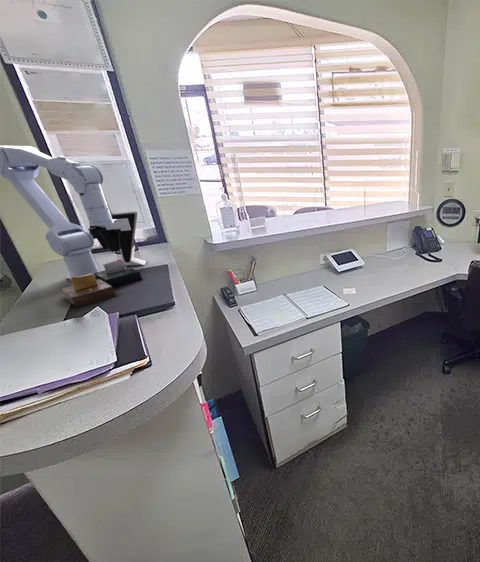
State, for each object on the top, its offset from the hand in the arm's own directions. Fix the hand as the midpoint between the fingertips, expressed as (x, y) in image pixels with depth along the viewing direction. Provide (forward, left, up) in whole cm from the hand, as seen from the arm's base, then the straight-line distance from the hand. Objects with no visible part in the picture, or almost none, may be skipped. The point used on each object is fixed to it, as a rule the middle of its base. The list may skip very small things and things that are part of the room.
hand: (111, 249), depth 101 cm
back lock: (+1, -1, -7) cm, 7 cm away
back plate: (+1, -1, -10) cm, 10 cm away
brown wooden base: (+10, -11, -10) cm, 18 cm away
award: (-16, +7, -11) cm, 21 cm away
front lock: (+10, -11, -7) cm, 17 cm away
